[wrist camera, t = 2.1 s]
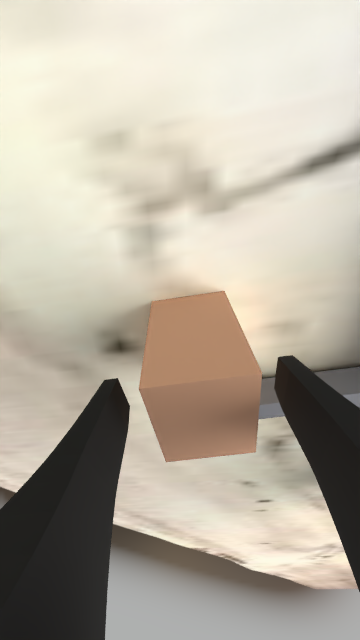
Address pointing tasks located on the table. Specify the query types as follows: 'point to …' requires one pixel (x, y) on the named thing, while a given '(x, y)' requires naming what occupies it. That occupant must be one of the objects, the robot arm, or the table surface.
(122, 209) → the table surface
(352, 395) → the sliding door
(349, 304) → the table surface
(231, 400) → the block
